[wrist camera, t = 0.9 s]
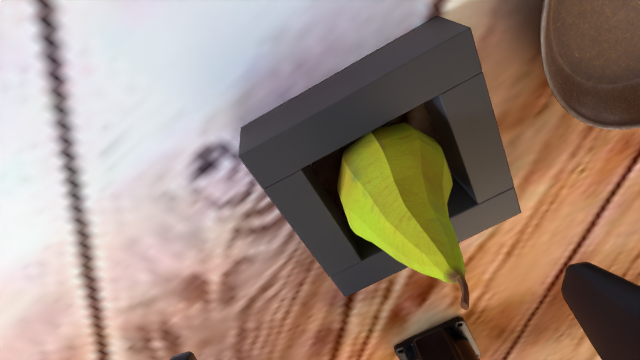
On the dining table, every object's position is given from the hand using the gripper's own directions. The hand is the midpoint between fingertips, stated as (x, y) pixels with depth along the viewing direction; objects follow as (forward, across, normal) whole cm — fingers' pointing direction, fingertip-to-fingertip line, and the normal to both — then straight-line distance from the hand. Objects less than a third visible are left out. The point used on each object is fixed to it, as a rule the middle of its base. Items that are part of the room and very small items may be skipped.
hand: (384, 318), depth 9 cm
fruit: (+14, -4, +4) cm, 15 cm away
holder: (+14, -4, +4) cm, 15 cm away
